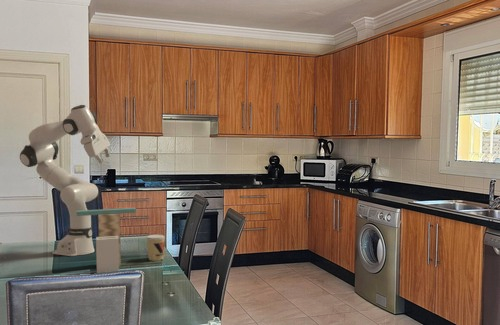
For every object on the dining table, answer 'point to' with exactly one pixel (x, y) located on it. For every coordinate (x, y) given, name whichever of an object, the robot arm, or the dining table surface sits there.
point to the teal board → (106, 211)
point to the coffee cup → (155, 247)
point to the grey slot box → (107, 253)
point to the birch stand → (110, 227)
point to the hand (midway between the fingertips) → (105, 159)
